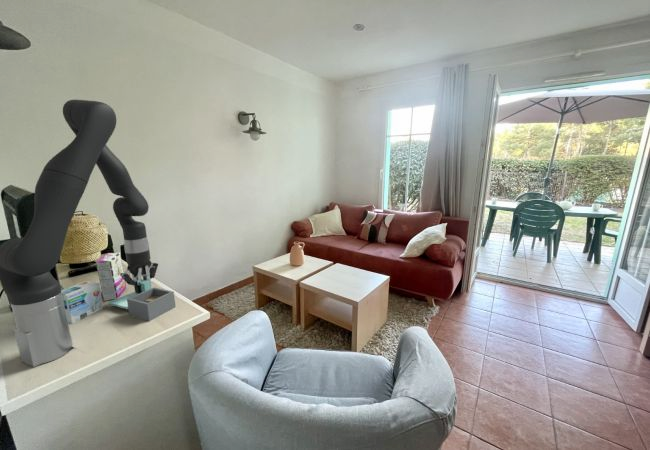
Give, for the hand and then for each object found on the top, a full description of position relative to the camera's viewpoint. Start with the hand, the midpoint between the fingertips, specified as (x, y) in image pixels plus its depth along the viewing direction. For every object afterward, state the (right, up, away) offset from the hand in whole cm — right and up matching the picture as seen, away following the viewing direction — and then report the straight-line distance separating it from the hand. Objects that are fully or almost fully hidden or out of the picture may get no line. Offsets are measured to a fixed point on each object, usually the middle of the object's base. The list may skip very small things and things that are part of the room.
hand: (143, 291), depth 103 cm
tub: (+10, -6, -9) cm, 14 cm away
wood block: (+9, -4, -6) cm, 11 cm away
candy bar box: (-15, -3, +5) cm, 17 cm away
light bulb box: (-14, -6, -11) cm, 19 cm away
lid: (-2, -3, -4) cm, 5 cm away
